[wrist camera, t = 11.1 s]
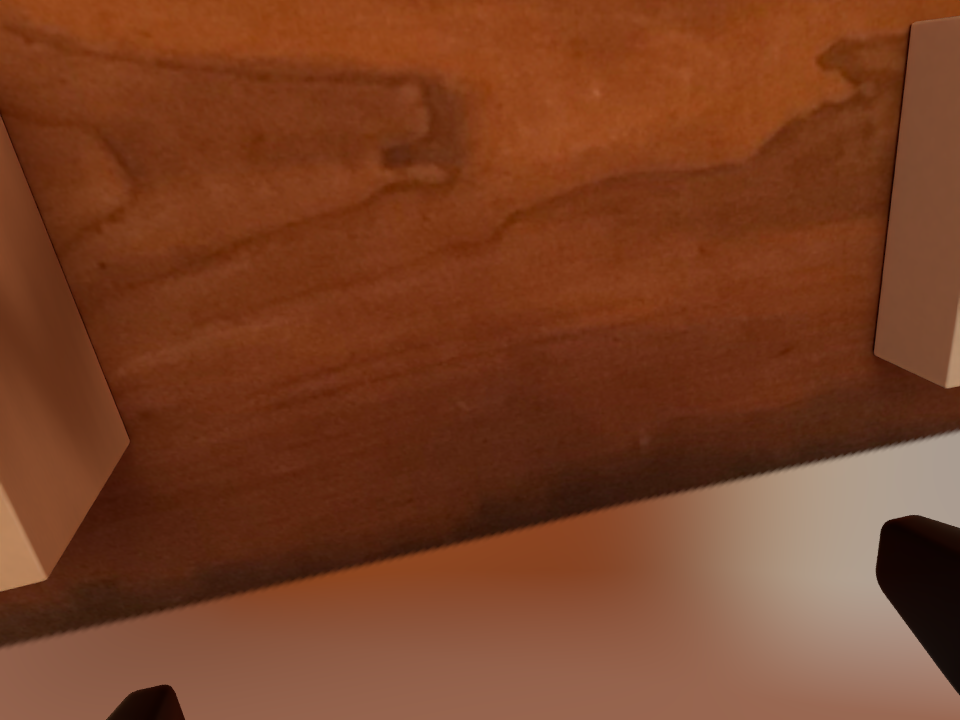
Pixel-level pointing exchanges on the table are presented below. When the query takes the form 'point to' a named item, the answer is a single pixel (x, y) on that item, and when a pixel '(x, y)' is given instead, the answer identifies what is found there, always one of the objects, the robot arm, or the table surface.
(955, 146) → the copier
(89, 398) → the riser
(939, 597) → the robot arm
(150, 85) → the table surface
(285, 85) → the table surface
